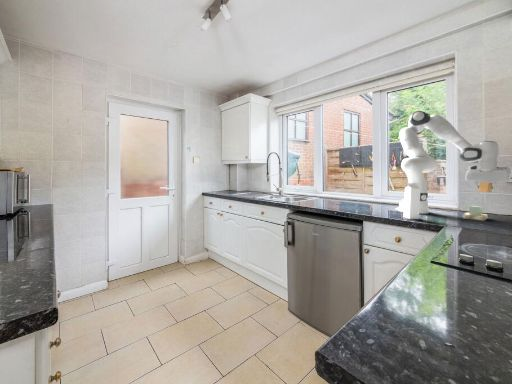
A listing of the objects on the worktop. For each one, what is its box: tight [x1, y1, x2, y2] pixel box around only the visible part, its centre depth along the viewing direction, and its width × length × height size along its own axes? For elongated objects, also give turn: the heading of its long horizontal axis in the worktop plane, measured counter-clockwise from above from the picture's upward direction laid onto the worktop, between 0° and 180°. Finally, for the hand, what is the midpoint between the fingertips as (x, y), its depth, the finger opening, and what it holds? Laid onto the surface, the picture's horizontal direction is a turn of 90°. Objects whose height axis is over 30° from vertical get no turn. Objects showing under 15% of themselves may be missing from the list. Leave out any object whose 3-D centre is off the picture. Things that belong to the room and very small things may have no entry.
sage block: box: [468, 205, 483, 215], centre depth 153 cm, size 5×5×5 cm
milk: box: [402, 182, 420, 220], centre depth 153 cm, size 6×6×22 cm
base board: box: [462, 212, 489, 221], centre depth 154 cm, size 10×10×2 cm
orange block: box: [478, 182, 494, 193], centre depth 156 cm, size 4×4×6 cm
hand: (485, 189), depth 156 cm, fingers closed on orange block, 5 cm apart
